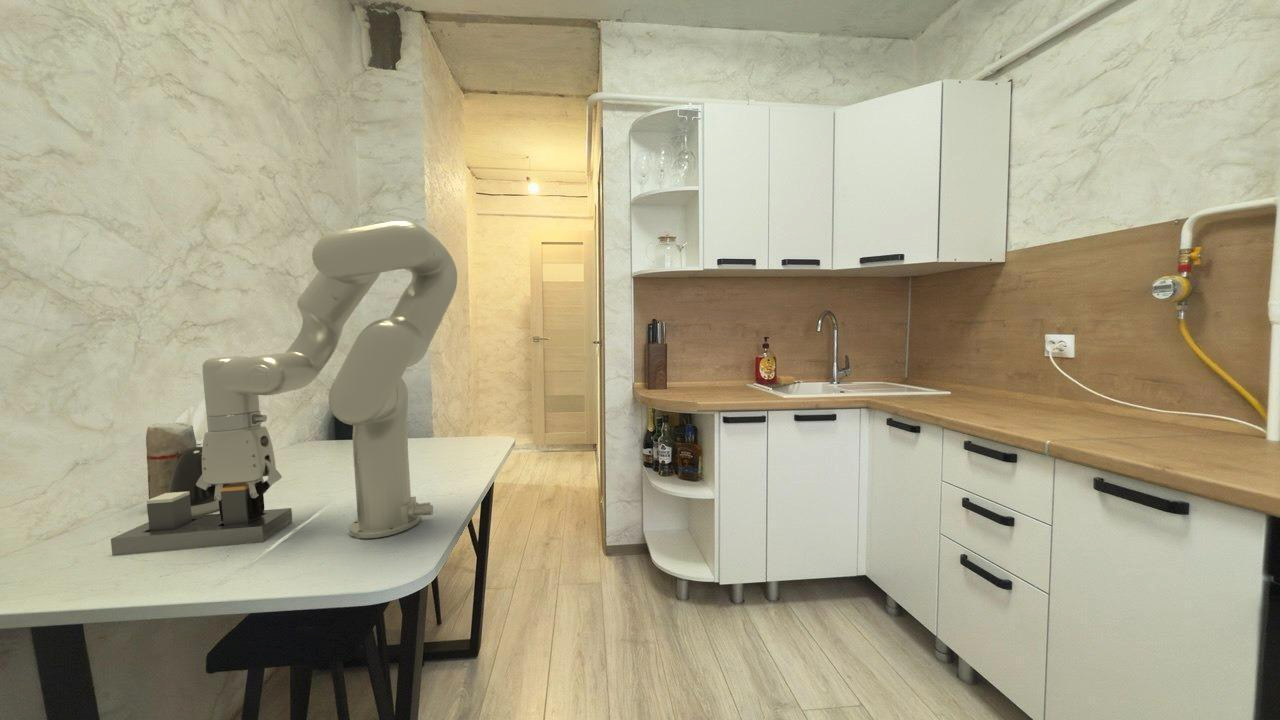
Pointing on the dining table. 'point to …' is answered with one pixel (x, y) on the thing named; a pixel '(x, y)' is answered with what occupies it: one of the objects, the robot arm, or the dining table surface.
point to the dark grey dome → (192, 482)
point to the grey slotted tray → (202, 534)
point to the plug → (235, 504)
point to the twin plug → (169, 511)
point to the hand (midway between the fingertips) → (242, 516)
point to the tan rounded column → (165, 453)
